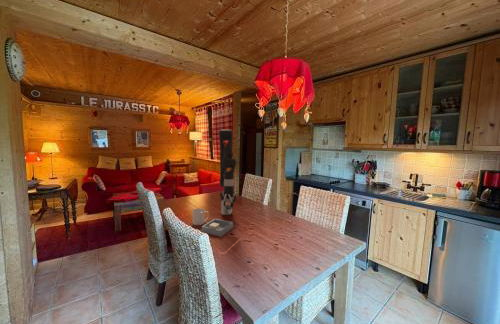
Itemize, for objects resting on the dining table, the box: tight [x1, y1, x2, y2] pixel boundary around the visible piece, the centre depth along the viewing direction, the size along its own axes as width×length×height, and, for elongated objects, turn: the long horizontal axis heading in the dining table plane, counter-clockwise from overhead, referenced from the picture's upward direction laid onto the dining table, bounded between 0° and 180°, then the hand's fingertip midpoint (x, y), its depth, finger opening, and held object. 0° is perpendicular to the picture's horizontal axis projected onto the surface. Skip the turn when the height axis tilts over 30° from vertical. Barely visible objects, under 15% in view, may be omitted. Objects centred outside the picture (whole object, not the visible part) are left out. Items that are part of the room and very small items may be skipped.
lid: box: [209, 223, 220, 227], centre depth 144 cm, size 5×5×1 cm
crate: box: [201, 218, 234, 237], centre depth 149 cm, size 17×16×5 cm
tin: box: [225, 198, 233, 210], centre depth 156 cm, size 5×5×8 cm
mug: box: [192, 208, 209, 226], centre depth 161 cm, size 12×9×11 cm
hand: (228, 206), depth 156 cm, fingers closed on tin, 5 cm apart
